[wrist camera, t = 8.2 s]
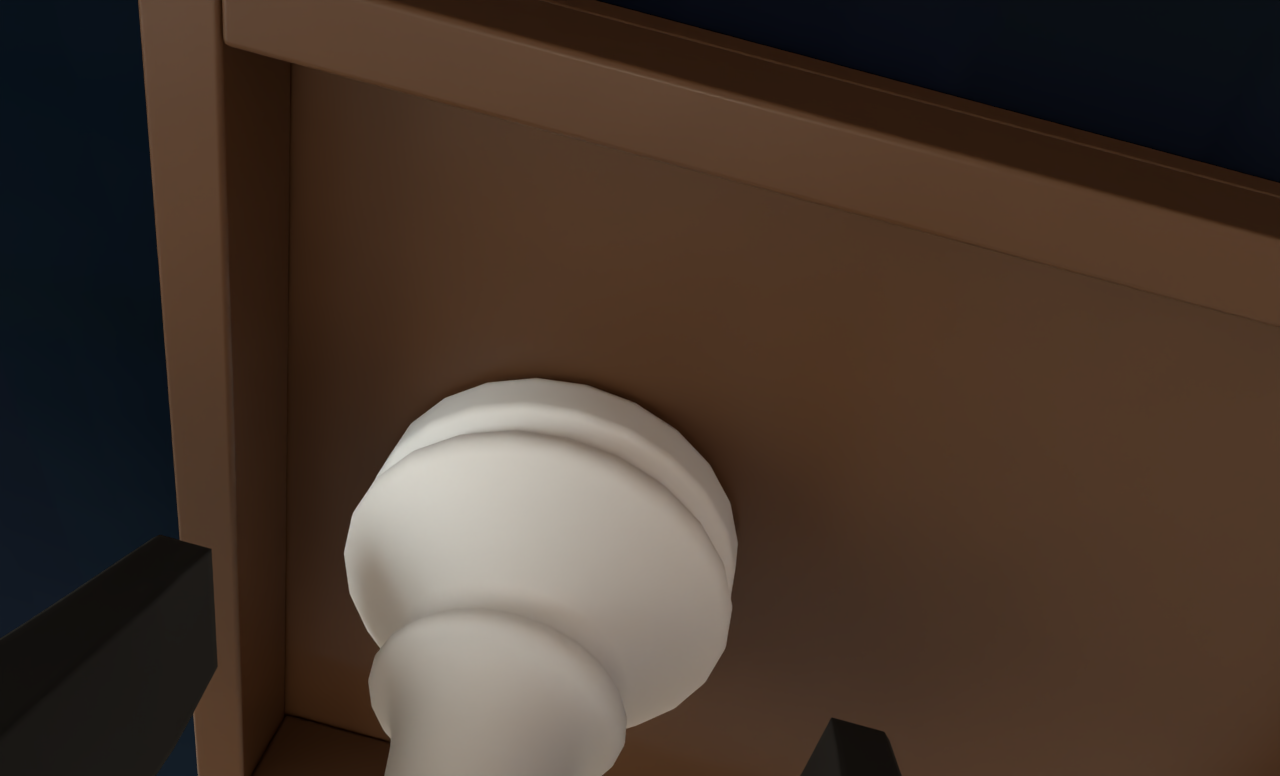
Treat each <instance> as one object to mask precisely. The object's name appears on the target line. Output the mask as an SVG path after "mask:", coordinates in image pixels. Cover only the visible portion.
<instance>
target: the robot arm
mask: <svg viewBox="0 0 1280 776" xmlns="http://www.w3.org/2000/svg"><path fill="white" fill-rule="evenodd" d="M217 667H218V662H217V643H216V623H215V604H214V585H213V565H212V549H210V548H207V547H203V546H199V545H196V544H192V543H188V542H185V541H181V540H177V539H173V538H170V537H166V536H162V535H158V536H156V537H155V538H153V539H151V540H149V541H148V542H146V543H145V544H143V545H142V546H140V547H139V548H137V549H136V550H134V551H133V552H131V553H130V554H128V555H127V556H125V557H124V558H122V559H121V560H119V561H118V562H116V563H115V564H113V565H112V566H110V567H109V568H107V569H106V570H104V571H103V572H101V573H100V574H98V575H97V576H95V577H94V578H92V579H91V580H89V581H88V582H86V583H85V584H83V585H82V586H80V587H79V588H77V589H76V590H74V591H73V592H71V593H70V594H68V595H67V596H65V597H64V598H62V599H61V600H59V601H58V602H56V603H55V604H53V605H52V606H50V607H48V608H47V609H45V610H44V611H42V612H41V613H39V614H38V615H36V616H35V617H33V618H32V619H30V620H29V621H27V622H26V623H24V624H22V625H21V626H19V627H18V628H16V629H14V630H13V631H11V632H10V633H8V634H7V635H5V636H3V637H2V638H0V776H156V774H157V773H158V771H159V770H160V768H161V767H162V765H163V764H164V762H165V761H166V760H167V758H168V757H169V755H170V754H171V752H172V751H173V749H174V747H175V745H176V743H177V742H178V740H179V738H180V736H181V734H182V733H183V731H184V729H185V727H186V725H187V724H188V722H189V720H190V718H191V716H192V715H193V713H194V711H195V709H196V707H197V705H198V703H199V701H200V699H201V698H202V696H203V694H204V692H205V690H206V688H207V686H208V684H209V682H210V680H211V678H212V676H213V675H214V673H215V671H216V669H217ZM800 776H902V775H901V772H900V769H899V766H898V763H897V761H896V758H895V755H894V752H893V749H892V746H891V743H890V740H889V739H888V737H887V735H886V734H885V732H884V731H880V730H877V729H873V728H869V727H865V726H862V725H858V724H854V723H851V722H847V721H843V720H840V719H836V718H832V717H831V719H830V721H829V723H828V725H827V727H826V728H825V730H824V732H823V734H822V736H821V738H820V740H819V742H818V744H817V745H816V747H815V749H814V751H813V753H812V755H811V757H810V759H809V760H808V762H807V764H806V766H805V768H804V770H803V772H802V774H801V775H800Z"/></svg>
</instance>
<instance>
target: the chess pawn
mask: <svg viewBox="0 0 1280 776" xmlns="http://www.w3.org/2000/svg"><path fill="white" fill-rule="evenodd" d="M737 547H738V541H737V536H736V530H735V525H734V519H733V514H732V509H731V503H730V501H729V499H728V498H727V496H726V494H725V492H724V490H723V488H722V486H721V484H720V483H719V481H718V479H717V477H716V475H715V473H714V471H713V470H712V468H711V466H710V464H709V463H708V462H707V461H706V460H705V459H704V458H703V457H702V456H701V455H700V454H699V452H698V451H697V450H696V449H695V448H694V447H693V446H692V445H691V444H690V443H689V442H688V441H687V440H686V439H685V438H684V437H683V436H682V435H681V434H680V432H679V431H678V430H676V429H675V428H673V427H672V426H670V425H669V424H667V423H666V422H664V421H663V420H661V419H659V418H658V417H656V416H655V415H653V414H652V413H650V412H649V411H647V410H646V409H644V408H642V407H641V406H639V405H638V404H636V403H634V402H632V401H629V400H626V399H624V398H621V397H618V396H616V395H613V394H610V393H608V392H605V391H602V390H599V389H597V388H594V387H591V386H589V385H584V384H577V383H570V382H563V381H555V380H548V379H541V378H530V379H519V380H508V381H497V382H487V383H485V384H482V385H479V386H476V387H474V388H471V389H468V390H465V391H463V392H460V393H457V394H454V395H452V396H449V397H446V398H444V399H443V400H441V401H440V402H439V403H437V404H436V405H435V406H433V407H432V408H431V409H429V410H428V411H427V412H425V413H424V414H423V415H421V416H420V417H419V418H417V419H416V420H415V421H413V422H412V423H411V424H410V425H409V427H408V428H407V430H406V431H405V433H404V434H403V436H402V437H401V439H400V440H399V442H398V443H397V445H396V446H395V448H394V449H393V451H392V452H391V454H390V455H389V457H388V458H387V460H386V462H385V463H384V465H383V466H382V468H381V470H380V471H379V473H378V474H377V476H376V479H375V480H374V482H373V483H372V485H371V486H370V488H369V489H368V491H367V492H366V494H365V495H364V497H363V498H362V500H361V501H360V503H359V504H358V506H357V507H356V509H355V510H354V512H353V514H352V518H351V522H350V527H349V532H348V536H347V541H346V546H345V550H344V558H345V565H346V572H347V579H348V586H349V593H350V595H351V598H352V600H353V602H354V604H355V606H356V608H357V610H358V612H359V614H360V617H361V619H362V621H363V623H364V625H365V627H366V629H367V631H368V632H369V634H370V635H371V637H372V638H373V639H374V641H375V642H376V643H377V645H378V646H379V647H380V650H379V651H378V652H377V653H376V655H375V657H374V660H373V664H372V668H371V672H370V675H369V679H368V684H369V691H370V698H371V705H372V708H373V710H374V712H375V714H376V716H377V718H378V720H379V722H380V724H381V726H382V728H383V730H384V732H385V733H386V734H387V735H388V736H389V737H390V738H391V743H390V751H389V755H388V760H387V765H386V770H385V775H384V776H602V775H603V774H604V773H606V772H607V771H608V770H609V769H610V768H611V767H612V766H613V765H614V763H615V761H616V759H617V758H618V756H619V754H620V752H621V750H622V748H623V747H624V744H625V736H626V729H627V728H630V727H634V726H637V725H639V724H641V723H643V722H646V721H648V720H650V719H652V718H655V717H657V716H659V715H661V714H663V713H666V712H668V711H670V710H672V709H674V708H676V707H677V706H678V705H679V704H680V703H682V702H683V701H684V700H685V699H686V698H687V697H689V696H690V695H691V694H692V693H693V692H695V691H696V690H697V689H698V688H699V687H701V686H702V685H703V684H704V683H705V682H706V680H707V679H708V677H709V675H710V674H711V672H712V670H713V668H714V667H715V665H716V663H717V662H718V660H719V658H720V657H721V655H722V653H723V652H724V650H725V648H726V643H727V637H728V631H729V625H730V619H731V613H732V602H731V592H732V586H733V580H734V574H735V568H736V558H737Z"/></svg>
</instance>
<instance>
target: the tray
mask: <svg viewBox="0 0 1280 776" xmlns="http://www.w3.org/2000/svg"><path fill="white" fill-rule="evenodd" d="M138 4H139V17H140V30H141V43H142V56H143V69H144V82H145V95H146V108H147V121H148V134H149V147H150V160H151V173H152V185H153V198H154V211H155V224H156V237H157V250H158V263H159V276H160V289H161V302H162V315H163V328H164V341H165V354H166V367H167V380H168V393H169V406H170V419H171V432H172V445H173V458H174V471H175V484H176V497H177V510H178V523H179V536H180V540H181V541H185V542H188V543H192V544H196V545H199V546H203V547H207V548H210V549H212V565H213V585H214V604H215V623H216V643H217V662H218V667H217V669H216V671H215V673H214V675H213V676H212V678H211V680H210V682H209V684H208V686H207V688H206V690H205V692H204V694H203V696H202V698H201V699H200V701H199V703H198V705H197V707H196V709H195V711H194V713H193V717H194V730H195V743H196V756H197V769H198V776H384V775H385V770H386V765H387V760H388V755H389V751H390V743H391V738H390V737H389V736H388V735H387V734H386V733H385V732H384V730H383V728H382V726H381V724H380V722H379V720H378V718H377V716H376V714H375V712H374V710H373V708H372V705H371V698H370V691H369V684H368V679H369V675H370V672H371V668H372V664H373V660H374V657H375V655H376V653H377V652H378V651H379V650H380V647H379V646H378V645H377V643H376V642H375V641H374V639H373V638H372V637H371V635H370V634H369V632H368V631H367V629H366V627H365V625H364V623H363V621H362V619H361V617H360V614H359V612H358V610H357V608H356V606H355V604H354V602H353V600H352V598H351V595H350V593H349V586H348V579H347V572H346V565H345V558H344V550H345V546H346V541H347V536H348V532H349V527H350V522H351V518H352V514H353V512H354V510H355V509H356V507H357V506H358V504H359V503H360V501H361V500H362V498H363V497H364V495H365V494H366V492H367V491H368V489H369V488H370V486H371V485H372V483H373V482H374V480H375V479H376V476H377V474H378V473H379V471H380V470H381V468H382V466H383V465H384V463H385V462H386V460H387V458H388V457H389V455H390V454H391V452H392V451H393V449H394V448H395V446H396V445H397V443H398V442H399V440H400V439H401V437H402V436H403V434H404V433H405V431H406V430H407V428H408V427H409V425H410V424H411V423H412V422H413V421H415V420H416V419H417V418H419V417H420V416H421V415H423V414H424V413H425V412H427V411H428V410H429V409H431V408H432V407H433V406H435V405H436V404H437V403H439V402H440V401H441V400H443V399H444V398H446V397H449V396H452V395H454V394H457V393H460V392H463V391H465V390H468V389H471V388H474V387H476V386H479V385H482V384H485V383H487V382H497V381H508V380H519V379H530V378H541V379H548V380H555V381H563V382H570V383H577V384H584V385H589V386H591V387H594V388H597V389H599V390H602V391H605V392H608V393H610V394H613V395H616V396H618V397H621V398H624V399H626V400H629V401H632V402H634V403H636V404H638V405H639V406H641V407H642V408H644V409H646V410H647V411H649V412H650V413H652V414H653V415H655V416H656V417H658V418H659V419H661V420H663V421H664V422H666V423H667V424H669V425H670V426H672V427H673V428H675V429H676V430H678V431H679V432H680V434H681V435H682V436H683V437H684V438H685V439H686V440H687V441H688V442H689V443H690V444H691V445H692V446H693V447H694V448H695V449H696V450H697V451H698V452H699V454H700V455H701V456H702V457H703V458H704V459H705V460H706V461H707V462H708V463H709V464H710V466H711V468H712V470H713V471H714V473H715V475H716V477H717V479H718V481H719V483H720V484H721V486H722V488H723V490H724V492H725V494H726V496H727V498H728V499H729V501H730V503H731V509H732V514H733V519H734V525H735V530H736V536H737V541H738V547H737V558H736V568H735V574H734V580H733V586H732V592H731V602H732V613H731V619H730V625H729V631H728V637H727V643H726V648H725V650H724V652H723V653H722V655H721V657H720V658H719V660H718V662H717V663H716V665H715V667H714V668H713V670H712V672H711V674H710V675H709V677H708V679H707V680H706V682H705V683H704V684H703V685H702V686H701V687H699V688H698V689H697V690H696V691H695V692H693V693H692V694H691V695H690V696H689V697H687V698H686V699H685V700H684V701H683V702H682V703H680V704H679V705H678V706H677V707H676V708H674V709H672V710H670V711H668V712H666V713H663V714H661V715H659V716H657V717H655V718H652V719H650V720H648V721H646V722H643V723H641V724H639V725H637V726H634V727H630V728H627V729H626V736H625V744H624V747H623V748H622V750H621V752H620V754H619V756H618V758H617V759H616V761H615V763H614V765H613V766H612V767H611V768H610V769H609V770H608V771H607V772H606V773H604V774H603V775H602V776H800V775H801V774H802V772H803V770H804V768H805V766H806V764H807V762H808V760H809V759H810V757H811V755H812V753H813V751H814V749H815V747H816V745H817V744H818V742H819V740H820V738H821V736H822V734H823V732H824V730H825V728H826V727H827V725H828V723H829V721H830V719H831V717H832V718H836V719H840V720H843V721H847V722H851V723H854V724H858V725H862V726H865V727H869V728H873V729H877V730H880V731H884V732H885V734H886V735H887V737H888V739H889V740H890V743H891V746H892V749H893V752H894V755H895V758H896V761H897V763H898V766H899V769H900V772H901V775H902V776H1280V183H1277V182H1274V181H1270V180H1266V179H1262V178H1259V177H1255V176H1251V175H1247V174H1244V173H1240V172H1236V171H1233V170H1229V169H1225V168H1221V167H1218V166H1214V165H1210V164H1206V163H1203V162H1199V161H1195V160H1191V159H1188V158H1184V157H1180V156H1176V155H1173V154H1169V153H1165V152H1161V151H1158V150H1154V149H1150V148H1146V147H1143V146H1139V145H1135V144H1131V143H1128V142H1124V141H1120V140H1116V139H1113V138H1109V137H1105V136H1102V135H1098V134H1094V133H1090V132H1087V131H1083V130H1079V129H1075V128H1072V127H1068V126H1064V125H1060V124H1057V123H1053V122H1049V121H1045V120H1042V119H1038V118H1034V117H1030V116H1027V115H1023V114H1019V113H1015V112H1012V111H1008V110H1004V109H1000V108H997V107H993V106H989V105H985V104H982V103H978V102H974V101H971V100H967V99H963V98H959V97H956V96H952V95H948V94H944V93H941V92H937V91H933V90H929V89H926V88H922V87H918V86H914V85H911V84H907V83H903V82H899V81H896V80H892V79H888V78H884V77H881V76H877V75H873V74H869V73H866V72H862V71H858V70H854V69H851V68H847V67H843V66H840V65H836V64H832V63H828V62H825V61H821V60H817V59H813V58H810V57H806V56H802V55H798V54H795V53H791V52H787V51H783V50H780V49H776V48H772V47H768V46H765V45H761V44H757V43H753V42H750V41H746V40H742V39H738V38H735V37H731V36H727V35H723V34H720V33H716V32H712V31H709V30H705V29H701V28H697V27H694V26H690V25H686V24H682V23H679V22H675V21H671V20H667V19H664V18H660V17H656V16H652V15H649V14H645V13H641V12H637V11H634V10H630V9H626V8H622V7H619V6H615V5H611V4H607V3H604V2H600V1H596V0H138Z"/></svg>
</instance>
